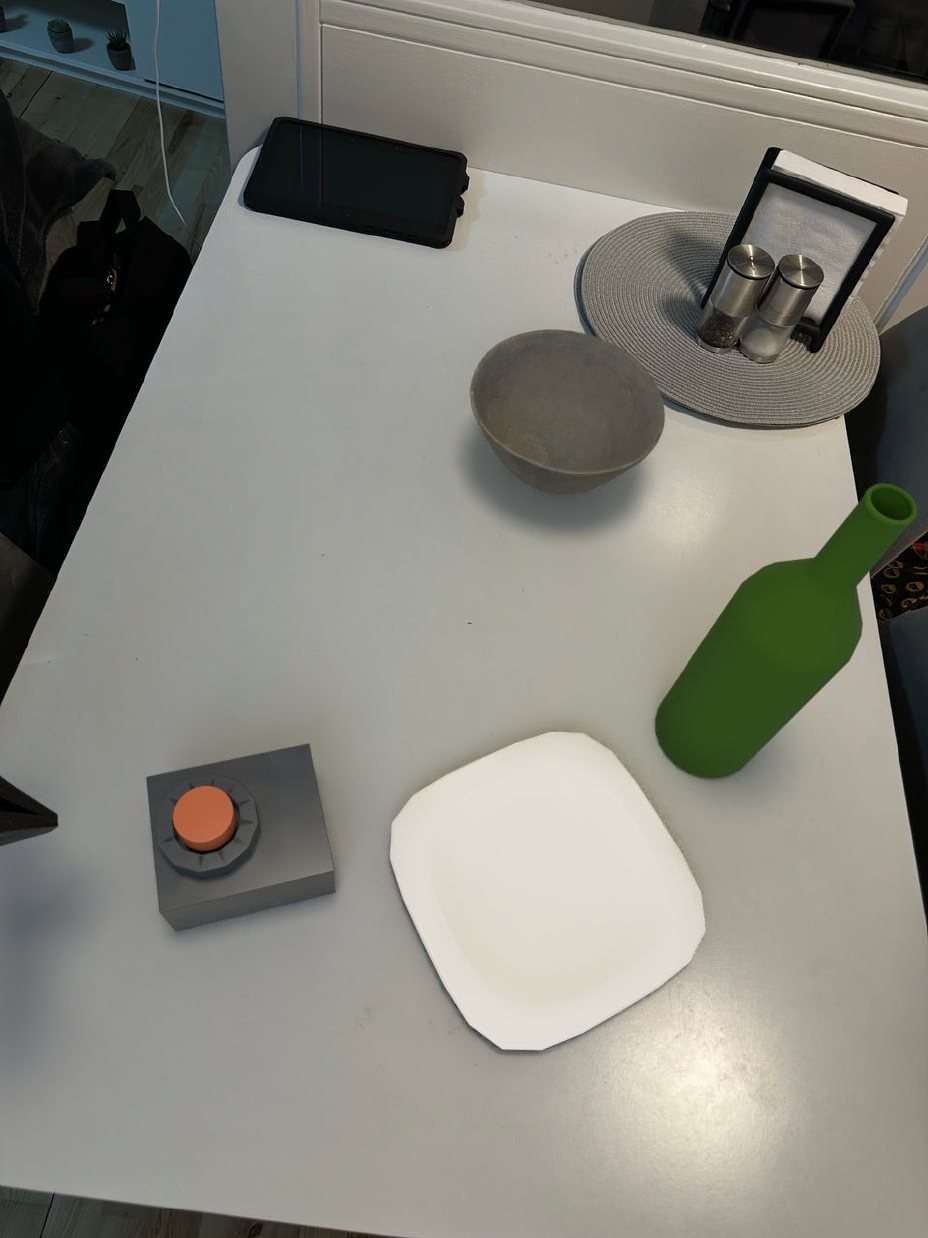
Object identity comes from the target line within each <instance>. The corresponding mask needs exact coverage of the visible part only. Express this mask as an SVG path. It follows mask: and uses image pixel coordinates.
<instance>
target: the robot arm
mask: <svg viewBox="0 0 928 1238" xmlns="http://www.w3.org/2000/svg"><path fill="white" fill-rule="evenodd" d="M58 828H59V815H58V813H57V812H55V811H54V810H52V809H51V808H50V807H48V806H46V805H45V804H43V803H41V802H40V801H38V800H37V799H35V798H34V797H32V796H31V795H29V794H28V793H26V792H24V791H23V790H21V789H20V788H18V787H17V786H15V784H12V783H11V782H10V781H8V780H7V779H5V777H3V776H2V775H0V847H4V846H7V845H10V844H15V843H17V842H21V841H25V840H29V839H31V838H36V837H40V836H43V835H47V834H49V833H51V832H53V831H54V830H56V829H58Z"/></svg>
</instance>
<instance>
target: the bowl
mask: <svg viewBox="0 0 928 1238" xmlns="http://www.w3.org/2000/svg"><path fill="white" fill-rule="evenodd" d="M657 384H658V383H657V382H656V381H655V379H654V377H653V376H652V375H651V373H650V372H649V371H648V370H647V369H646V367H645V366H644V365H643V364H642V363H641V362H640V361H639V360H638V359H637V358H635V357H634V356H633V355H631V354H630V353H628V352H627V351H626V350H624V349H622V348H621V347H619V346H618V345H616V344H614V343H611V342H609V341H607V340H605V339H603V338H601V337H598V336H596V335H591V334H588V333H584V332H579V331H573V330H567V329H552V328H551V329H537V330H531V331H525V332H522V333H518V334H516V335H512V336H510V337H508V338H505V339H504V340H502V341H500V342H498V343H497V344H495V345H494V346H493V347H492V348H490V349H489V350H488V351H487V352H486V353H485V354H484V356H483V357H482V358H481V359H480V361H479V362H478V364H477V365H476V368H475V370H474V373H473V375H472V378H471V382H470V388H469V399H470V407H471V411H472V413H473V415H474V418H475V420H476V422H477V424H478V426H479V428H480V430H481V432H482V433H483V435H484V437H485V439H486V441H487V443H488V445H489V447H490V448H491V451H493V453H494V455H495V456H496V457H497V458H498V460H500V462H501V463H502V464H503V465H504V466H505V467H506V469H508V470H509V471H510V472H511V473H512V474H513V475H514V476H515V477H517V478H518V479H519V480H521V481H522V482H523V483H524V484H526V485H528V486H530V487H531V488H534V489H536V490H540V491H543V492H547V493H553V494H559V495H571V494H578V493H583V492H587V491H590V490H593V489H595V488H599V487H600V486H603V485H605V484H606V483H609V482H611V481H612V480H614V479H616V478H618V477H620V476H621V475H623V474H624V473H626V472H627V471H629V470H630V469H632V468H633V467H636V466H637V465H639V464H640V463H641V462H643V461H644V460H645V459H646V458H647V457H648V456H649V455H650V454H651V452H652V451H653V450H654V449H655V447H656V446H657V444H658V443H659V441H660V439H661V436H662V434H663V431H664V429H665V428H664V427H665V423H666V413H665V412H666V411H665V406H664V400H663V397H662V394H661V391H660V389H659V386H658V385H657Z"/></svg>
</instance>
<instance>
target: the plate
mask: <svg viewBox="0 0 928 1238" xmlns="http://www.w3.org/2000/svg"><path fill="white" fill-rule="evenodd" d="M389 847H390V849H389V860H390V861H389V862H390V864H391V868H392V871H393V873H394V876H395V880H396V883H397V885H398V889H399V892H400V894H401V898H402V901H403V903H404V905H405V907H406V909H407V911H408V913H409V916H410V918H411V920H412V922H413V925H414V926H415V929H416V931H417V933H418V935H419V938H420V940H421V942H422V944H423V946H424V948H425V950H426V952H427V954H428V956H429V958H430V960H431V962H432V964H433V966H434V969H435V971H436V973H437V975H438V977H439V979H440V980H441V983H442V984H443V986H444V988H445V989H446V991H447V993H448V994H449V996H450V998H451V999H452V1001H453V1002H454V1004H455V1005H456V1007H457V1009H458V1010H459V1012H460V1013H461V1015H462V1016H463V1018H464V1020H465V1021H466V1022H467V1024H468V1026H470V1027H471V1028H473V1029H474V1030H475V1031H477V1032H478V1033H479V1034H481V1035H482V1036H483V1037H484V1038H486V1039H488V1040H489V1041H490V1042H491V1043H492V1044H494V1045H495V1046H496V1047H498V1048H499V1049H500V1050H509V1051H510V1050H513V1051H544V1050H546V1049H548V1048H551V1047H553V1046H555V1045H558V1044H561V1043H562V1042H564V1041H568V1040H570V1039H572V1038H575V1037H577V1036H580V1035H582V1034H584V1033H586V1032H587V1031H589V1030H591V1029H593V1028H594V1027H596V1026H598V1025H599V1024H601V1023H603V1022H605V1021H606V1020H608V1019H609V1018H612V1017H613V1016H615V1015H618V1013H620V1012H622V1011H624V1010H625V1009H627V1008H629V1007H630V1006H632V1005H633V1004H635V1003H636V1002H638V1001H640V1000H641V999H643V998H644V997H646V996H648V995H649V994H652V993H653V992H654V991H656V990H657V989H659V988H660V987H662V985H664V984H665V983H666V982H668V981H669V980H670V979H672V977H674V976H675V975H676V974H678V972H680V971H681V970H683V968H684V967H686V966H687V965H688V964H689V963H691V961H692V959H693V957H694V955H695V953H696V952H697V949H698V947H699V945H700V943H701V941H702V939H703V937H704V935H705V933H706V931H707V928H706V926H707V925H706V920H705V911H704V904H703V895H702V891H701V889H700V887H699V885H698V883H697V881H696V879H695V877H694V875H693V873H692V871H691V869H690V867H689V865H688V863H687V861H686V859H685V856H684V855H683V853H682V851H681V850H680V847H679V846H678V845H677V843H676V841H675V840H674V838H673V836H672V835H671V833H670V832H669V829H668V828H667V827H666V825H665V823H664V822H663V820H662V819H661V817H660V815H659V814H658V812H657V811H656V809H655V808H654V806H653V805H652V803H651V802H650V799H649V798H648V797H647V796H646V794H645V793H644V791H643V789H642V788H641V786H640V785H639V783H638V782H637V780H636V779H635V778H634V777H633V776H632V774H631V773H630V771H628V769H627V768H626V767H625V766H624V764H623V763H622V762H621V761H620V759H619V758H618V757H617V755H615V753H614V752H613V751H612V750H611V749H609V748H607V746H604V745H603V744H601V743H600V742H598V741H596V740H595V739H593V738H592V737H590V736H589V735H587V734H586V733H584V732H568V731H548V732H544V733H542V734H538V735H535V736H532V737H529V738H526V739H522V740H519V741H516V742H514V743H512V744H509V745H507V746H504V747H503V748H501V749H498V750H496V751H494V752H491V753H489V754H487V755H484V756H483V757H479V758H478V759H476V760H473V761H472V762H469V763H467V764H465V765H463V766H461V767H459V768H456V769H455V770H453V771H450V772H448V773H447V774H445V775H443V776H442V777H439V778H438V779H437V780H435V781H433V782H431V783H429V784H428V785H427V786H426V787H424V788H422V789H421V790H419V791H418V792H416V793H414V794H413V795H411V797H410V798H409V800H408V801H407V802H406V803H405V805H404V806H403V808H402V809H401V810H400V811H399V813H398V814H397V815H396V817H395V818H394V820H393V821H392V822H391V830H390V846H389Z"/></svg>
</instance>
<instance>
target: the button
mask: <svg viewBox="0 0 928 1238" xmlns="http://www.w3.org/2000/svg"><path fill="white" fill-rule="evenodd" d="M236 822H237V819H236V813H235V810H234V807H233V805H232V802H231V800H230V798H229V796H228V795H227V794H226V793H225V792H224V791H222V790H220V789H219V788H216V787H212V786H201V787H197V788H194V789H192V790H190V791H188V792H187V793H185V794H184V795H183V796H182V797H181V798H180V799H179V801H178V802H177V804H176V806H175V809H174V812H173V823H174V826H175V829H176V831H177V832H178V834H179V836H180V838H181V839H182V841H183V842H184V843H185V844H186V845H187V846H188V847H190V848H192V849H194V850H198V851H210V850H214V849H217V848H219V847H221V846H222V845H224V844H225V843H226V842H227V841H228V840H229V839H230V838H231V836H232V835H233V833H234V831H235V828H236Z"/></svg>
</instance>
